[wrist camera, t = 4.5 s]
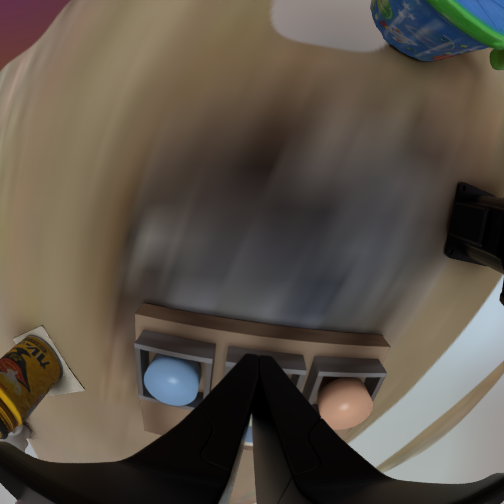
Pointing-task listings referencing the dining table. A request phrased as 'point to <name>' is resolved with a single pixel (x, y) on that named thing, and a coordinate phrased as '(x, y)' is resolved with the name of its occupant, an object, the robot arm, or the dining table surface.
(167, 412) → the console
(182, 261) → the dining table surface
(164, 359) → the slate blue button
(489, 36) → the snack cup
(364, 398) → the terracotta button
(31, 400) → the condiment
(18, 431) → the round bodied animal figurine
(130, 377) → the dining table surface
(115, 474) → the robot arm
